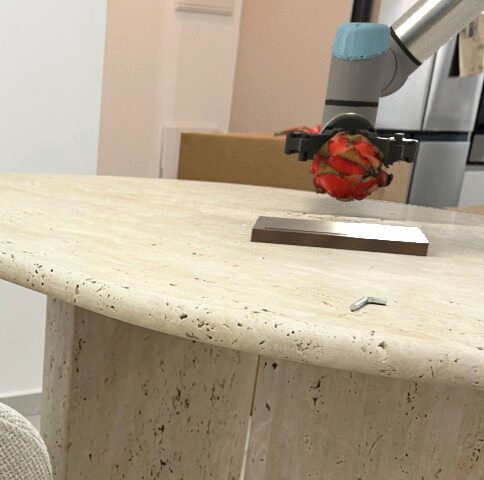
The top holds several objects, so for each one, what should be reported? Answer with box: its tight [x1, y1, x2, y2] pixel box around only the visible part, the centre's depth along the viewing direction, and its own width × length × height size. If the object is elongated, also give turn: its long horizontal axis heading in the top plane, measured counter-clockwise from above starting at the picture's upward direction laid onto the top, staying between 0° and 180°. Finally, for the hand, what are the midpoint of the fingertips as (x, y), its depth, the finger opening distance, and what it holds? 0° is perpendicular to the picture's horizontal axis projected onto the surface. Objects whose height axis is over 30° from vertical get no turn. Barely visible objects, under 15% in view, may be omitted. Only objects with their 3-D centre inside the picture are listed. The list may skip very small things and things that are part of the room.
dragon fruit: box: [308, 131, 394, 203], centre depth 114 cm, size 8×8×12 cm
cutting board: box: [250, 215, 430, 257], centre depth 117 cm, size 20×14×2 cm
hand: (351, 150), depth 109 cm, fingers closed on dragon fruit, 8 cm apart
